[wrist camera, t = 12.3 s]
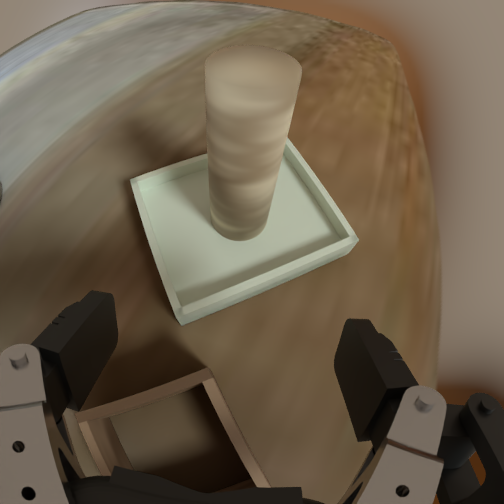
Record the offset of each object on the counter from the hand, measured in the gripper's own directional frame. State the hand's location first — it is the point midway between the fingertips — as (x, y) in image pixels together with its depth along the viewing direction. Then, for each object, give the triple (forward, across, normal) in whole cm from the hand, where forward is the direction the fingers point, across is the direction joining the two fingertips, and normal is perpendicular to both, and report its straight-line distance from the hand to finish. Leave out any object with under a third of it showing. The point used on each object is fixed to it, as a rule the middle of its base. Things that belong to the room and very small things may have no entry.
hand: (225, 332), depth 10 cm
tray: (+13, 0, 0) cm, 13 cm away
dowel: (+13, 0, -1) cm, 13 cm away
